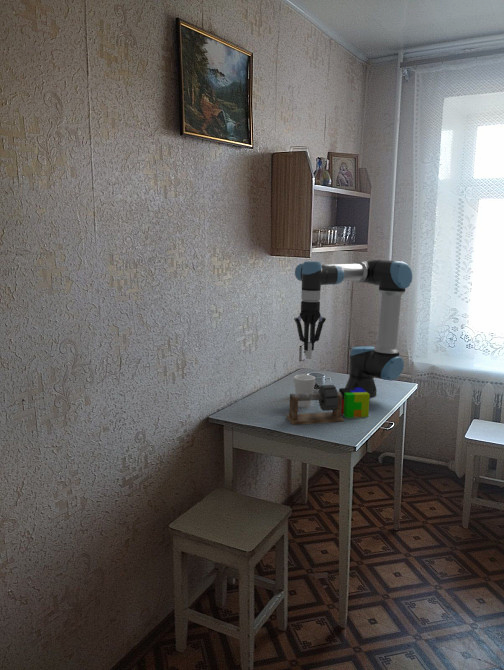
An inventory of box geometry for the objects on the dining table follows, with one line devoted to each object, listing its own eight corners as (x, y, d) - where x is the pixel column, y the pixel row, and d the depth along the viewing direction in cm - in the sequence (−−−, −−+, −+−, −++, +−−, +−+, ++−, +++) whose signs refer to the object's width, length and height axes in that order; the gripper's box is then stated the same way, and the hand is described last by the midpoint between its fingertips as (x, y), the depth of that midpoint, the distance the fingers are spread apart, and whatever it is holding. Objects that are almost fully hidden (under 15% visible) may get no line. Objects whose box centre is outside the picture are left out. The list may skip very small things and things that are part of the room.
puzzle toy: (359, 409, 241) (361, 387, 239) (368, 416, 232) (369, 394, 230) (338, 410, 240) (339, 388, 238) (346, 417, 230) (347, 395, 228)
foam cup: (312, 409, 240) (314, 380, 237) (292, 407, 242) (292, 379, 239) (314, 402, 249) (315, 375, 246) (294, 401, 251) (295, 373, 248)
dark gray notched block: (328, 404, 233) (330, 382, 230) (337, 413, 223) (338, 390, 221) (317, 404, 232) (319, 382, 229) (325, 413, 222) (327, 390, 220)
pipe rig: (336, 414, 233) (337, 388, 231) (343, 421, 225) (345, 395, 223) (286, 417, 229) (287, 391, 227) (292, 424, 220) (293, 397, 218)
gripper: (322, 299, 222) (320, 355, 226) (292, 299, 219) (290, 356, 223) (329, 301, 214) (326, 359, 219) (297, 302, 212) (295, 361, 216)
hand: (308, 358), depth 221 cm, fingers closed
